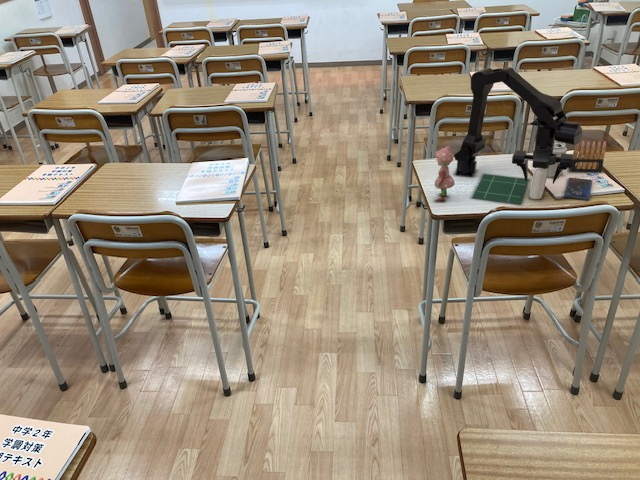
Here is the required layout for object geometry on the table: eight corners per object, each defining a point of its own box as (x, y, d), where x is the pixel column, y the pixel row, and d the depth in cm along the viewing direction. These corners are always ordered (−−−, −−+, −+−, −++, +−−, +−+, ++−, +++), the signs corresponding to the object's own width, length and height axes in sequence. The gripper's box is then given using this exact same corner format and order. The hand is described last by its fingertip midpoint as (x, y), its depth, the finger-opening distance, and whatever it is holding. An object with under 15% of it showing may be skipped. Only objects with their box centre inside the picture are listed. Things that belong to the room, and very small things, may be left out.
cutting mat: (472, 198, 172) (472, 197, 171) (483, 174, 186) (483, 173, 186) (519, 204, 165) (520, 203, 164) (528, 179, 179) (528, 178, 179)
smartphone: (592, 179, 172) (589, 198, 162) (591, 181, 173) (588, 200, 162) (568, 177, 176) (564, 195, 165) (568, 179, 176) (563, 197, 166)
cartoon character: (450, 206, 168) (453, 152, 157) (429, 203, 171) (431, 150, 160) (456, 193, 176) (459, 141, 165) (437, 191, 178) (439, 139, 168)
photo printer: (532, 185, 175) (538, 153, 168) (545, 187, 173) (552, 155, 166) (527, 198, 167) (534, 165, 160) (540, 200, 166) (548, 167, 159)
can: (564, 178, 177) (569, 147, 171) (542, 178, 179) (547, 147, 173) (559, 169, 183) (565, 139, 177) (538, 169, 185) (543, 140, 179)
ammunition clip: (600, 170, 180) (607, 139, 173) (601, 172, 178) (608, 141, 172) (568, 169, 183) (574, 139, 176) (569, 171, 181) (575, 141, 175)
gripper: (511, 146, 158) (507, 189, 166) (575, 150, 149) (567, 195, 157) (516, 134, 166) (512, 175, 174) (577, 137, 158) (570, 180, 166)
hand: (539, 181), depth 168 cm, fingers closed on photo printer, 8 cm apart
